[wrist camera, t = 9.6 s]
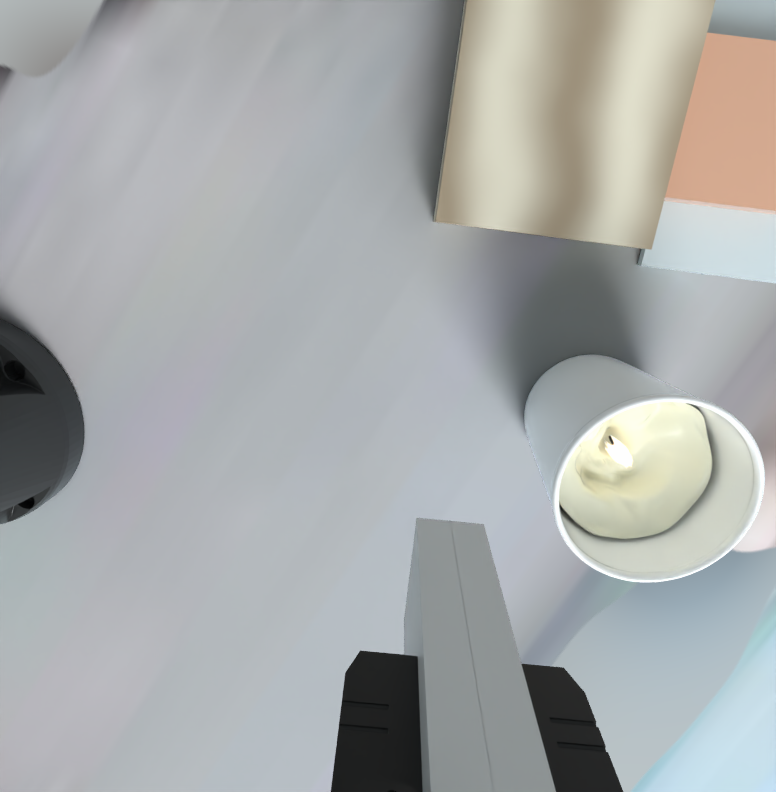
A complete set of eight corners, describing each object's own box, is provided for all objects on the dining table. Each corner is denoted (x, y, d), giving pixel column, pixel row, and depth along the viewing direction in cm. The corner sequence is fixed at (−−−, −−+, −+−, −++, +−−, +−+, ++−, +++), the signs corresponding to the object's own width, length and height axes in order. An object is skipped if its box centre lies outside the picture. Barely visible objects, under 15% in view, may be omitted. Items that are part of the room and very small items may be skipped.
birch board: (433, 221, 35) (435, 221, 31) (470, -45, 31) (478, -83, 27) (625, 246, 35) (651, 249, 31) (689, -17, 31) (728, -51, 27)
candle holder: (574, 312, 36) (648, 354, 25) (690, 395, 37) (812, 471, 26) (482, 430, 39) (511, 517, 27) (594, 503, 40) (666, 616, 29)
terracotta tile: (645, 198, 33) (662, 196, 31) (681, 46, 31) (703, 32, 29) (779, 215, 33) (806, 214, 31) (826, 63, 31) (859, 50, 29)
